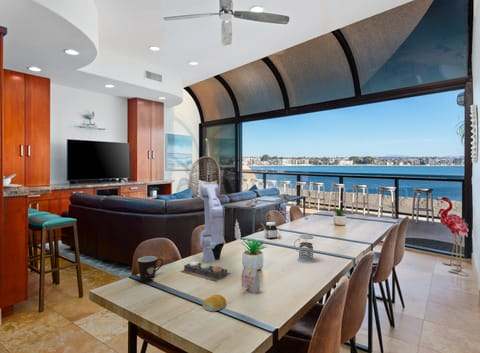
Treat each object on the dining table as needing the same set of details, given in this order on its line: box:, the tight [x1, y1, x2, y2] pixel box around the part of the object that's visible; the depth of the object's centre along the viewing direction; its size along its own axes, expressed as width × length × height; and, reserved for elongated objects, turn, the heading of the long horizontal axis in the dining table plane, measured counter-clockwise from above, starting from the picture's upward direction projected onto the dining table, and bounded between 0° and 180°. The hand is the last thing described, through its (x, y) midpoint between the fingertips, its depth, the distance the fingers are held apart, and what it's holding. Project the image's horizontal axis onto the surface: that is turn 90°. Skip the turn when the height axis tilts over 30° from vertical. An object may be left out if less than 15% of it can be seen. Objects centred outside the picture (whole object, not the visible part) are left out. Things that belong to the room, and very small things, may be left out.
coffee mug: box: [137, 255, 164, 283], centre depth 138 cm, size 12×9×10 cm
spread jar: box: [263, 221, 282, 240], centre depth 218 cm, size 12×11×12 cm
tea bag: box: [241, 265, 260, 294], centre depth 126 cm, size 4×7×10 cm, turn 51°
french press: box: [293, 216, 315, 264], centre depth 165 cm, size 10×12×25 cm
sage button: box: [201, 263, 211, 270], centre depth 143 cm, size 4×4×2 cm
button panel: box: [179, 262, 232, 283], centre depth 143 cm, size 12×23×4 cm, turn 57°
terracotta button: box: [213, 266, 223, 273], centre depth 139 cm, size 4×4×2 cm
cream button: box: [188, 260, 199, 267], centre depth 147 cm, size 4×4×2 cm
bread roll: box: [202, 294, 227, 312], centre depth 112 cm, size 8×9×4 cm
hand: (217, 259), depth 138 cm, fingers closed
